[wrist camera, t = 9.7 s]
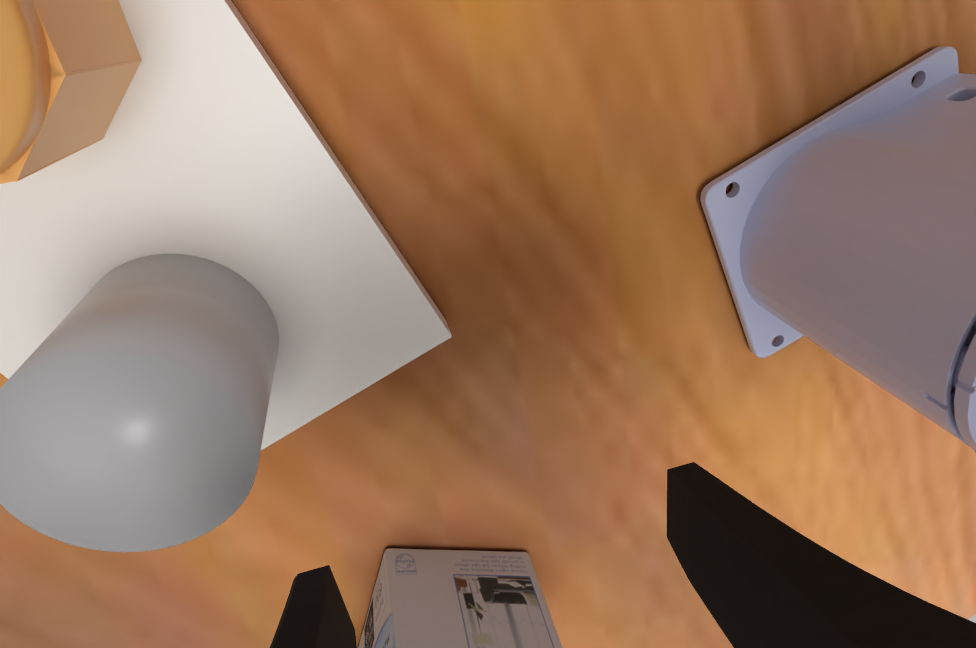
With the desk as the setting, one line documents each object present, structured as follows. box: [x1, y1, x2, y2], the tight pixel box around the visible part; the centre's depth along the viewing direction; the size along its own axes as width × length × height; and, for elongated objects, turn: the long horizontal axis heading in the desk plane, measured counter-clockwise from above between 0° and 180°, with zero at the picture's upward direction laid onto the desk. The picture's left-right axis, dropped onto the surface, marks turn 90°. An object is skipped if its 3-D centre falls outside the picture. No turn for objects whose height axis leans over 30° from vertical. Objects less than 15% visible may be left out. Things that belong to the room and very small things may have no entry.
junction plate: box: [0, 0, 452, 552], centre depth 13 cm, size 11×17×7 cm, turn 28°
